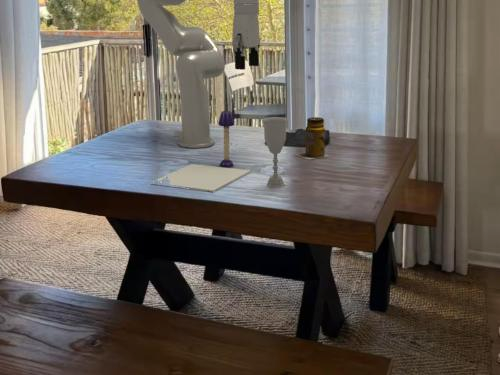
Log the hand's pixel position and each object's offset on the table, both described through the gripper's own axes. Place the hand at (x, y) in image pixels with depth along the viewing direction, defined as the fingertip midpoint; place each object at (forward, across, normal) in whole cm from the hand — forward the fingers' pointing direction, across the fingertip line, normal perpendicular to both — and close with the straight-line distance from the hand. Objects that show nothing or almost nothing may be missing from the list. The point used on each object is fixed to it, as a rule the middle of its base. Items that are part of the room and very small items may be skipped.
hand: (247, 67), depth 208 cm
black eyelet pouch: (+29, -24, +7) cm, 38 cm away
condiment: (+28, -8, +19) cm, 35 cm away
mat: (+28, +29, 0) cm, 40 cm away
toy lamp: (+28, +14, 0) cm, 32 cm away
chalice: (+28, +27, +22) cm, 45 cm away
